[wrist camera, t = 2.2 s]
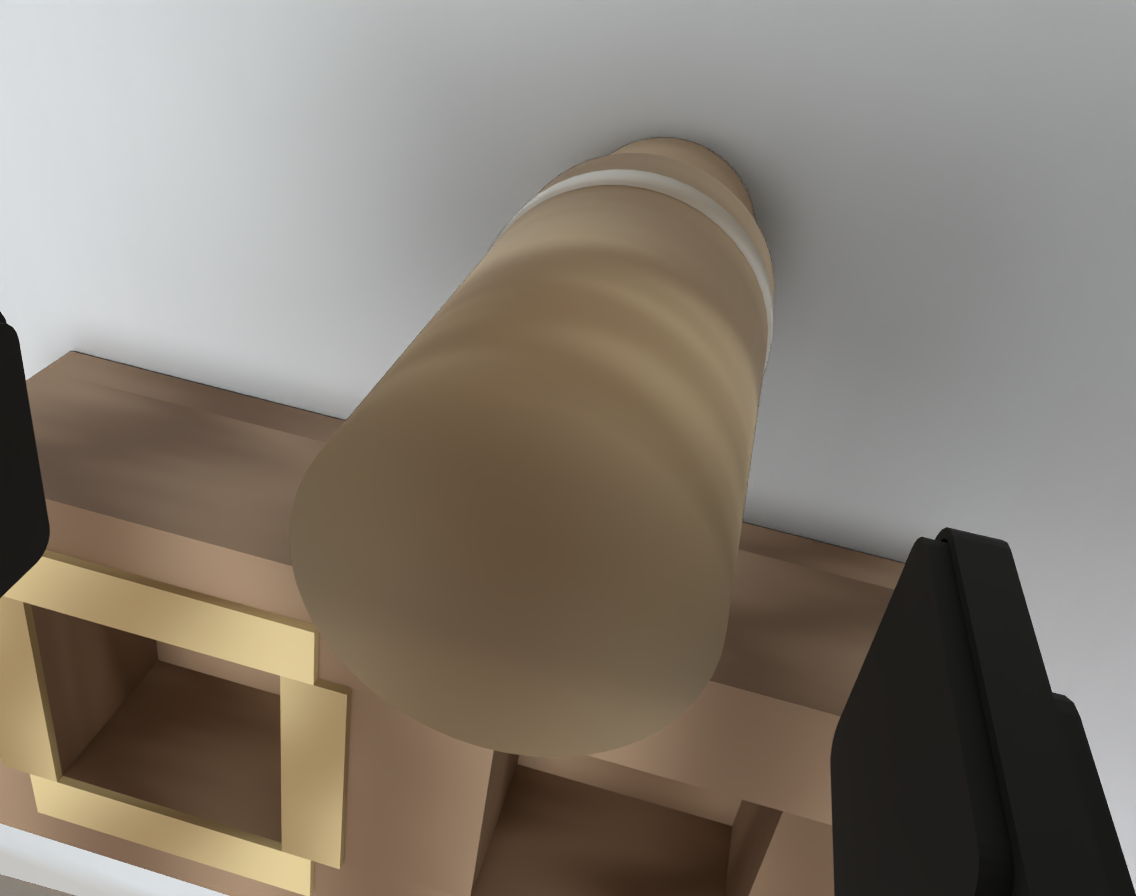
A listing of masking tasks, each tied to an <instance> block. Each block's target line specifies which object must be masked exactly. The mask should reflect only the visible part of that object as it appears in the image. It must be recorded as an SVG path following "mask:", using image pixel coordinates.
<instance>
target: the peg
mask: <svg viewBox="0 0 1136 896" xmlns="http://www.w3.org/2000/svg"><path fill="white" fill-rule="evenodd" d="M773 301H774V275H773V266H772V262H771V257H770V253H769V250H768V247H767V244H766V242H765V239H764V236H763V234H762V232H761V230H760V229H759V227H758V225H757V223H756V221H755V215H754V210H753V206H752V202H751V199H750V197H749V194H748V191H747V189H746V188H745V186H744V184H743V182H742V180H741V179H740V178H739V176H738V175H737V173H736V172H735V171H734V170H733V169H732V168H731V167H730V165H729V164H728V163H727V162H726V161H724V160H723V159H722V158H721V157H719V156H718V155H717V154H715V153H714V152H712V151H710V150H709V149H707V148H705V147H703V146H701V145H698V144H696V143H693V142H690V141H686V140H683V139H677V138H666V137H657V138H649V139H643V140H640V141H636V142H633V143H630V144H628V145H625V146H623V147H621V148H620V149H618V150H616V151H614V152H613V153H611V154H610V155H606V156H602V157H599V158H595V159H591V160H588V161H586V162H583V163H581V164H579V165H576V166H574V167H572V168H570V169H569V170H567V171H565V172H564V173H562V174H560V175H559V176H557V177H556V178H555V179H554V180H552V181H551V182H550V183H549V184H547V185H546V186H545V187H544V188H543V189H542V190H541V191H540V192H539V193H538V194H537V195H536V196H535V197H534V198H533V199H532V200H531V201H529V202H528V203H527V204H526V205H524V206H523V208H522V209H521V210H520V211H519V212H518V213H517V214H516V215H515V216H514V217H513V218H512V219H511V220H510V222H509V223H508V224H507V225H506V226H505V228H504V229H503V230H502V231H501V232H500V234H499V235H498V237H497V238H496V240H495V241H494V242H493V244H492V245H491V247H490V249H489V251H488V253H487V254H486V255H485V257H484V258H483V259H482V260H481V261H480V262H479V264H478V265H477V266H476V267H475V268H474V270H473V271H472V272H471V273H470V274H469V275H468V277H467V278H466V279H465V280H464V281H463V283H462V284H461V285H460V286H459V287H458V289H457V290H456V291H455V292H454V293H453V294H452V296H451V297H450V298H449V299H448V300H447V302H446V303H445V304H444V305H443V306H442V307H441V309H440V310H439V311H438V312H437V313H436V315H435V316H434V317H433V318H432V319H431V320H430V322H429V323H428V324H427V325H426V326H425V328H424V329H423V330H422V331H421V332H420V334H419V335H418V336H417V337H416V338H415V339H414V341H413V342H412V343H411V344H410V345H409V347H408V348H407V349H406V350H405V351H404V352H403V354H402V355H401V356H400V357H399V358H398V360H397V361H396V362H395V363H394V364H393V365H392V367H391V368H390V369H389V370H388V371H387V373H386V374H385V375H384V376H383V377H382V378H381V380H380V381H379V382H378V383H377V384H376V386H375V387H374V388H373V389H372V390H371V392H370V393H369V394H368V395H367V396H366V397H365V399H364V400H363V401H362V402H361V403H360V405H359V406H358V407H357V408H356V409H355V410H354V412H353V413H352V414H351V415H350V416H349V418H348V419H347V420H346V421H345V422H344V423H343V425H342V426H341V427H340V428H339V429H338V431H337V432H336V433H335V434H334V435H333V436H332V438H331V439H330V440H329V441H328V442H327V444H326V445H325V446H324V447H323V448H322V450H321V451H320V452H319V453H318V454H317V456H316V457H315V459H314V460H313V462H312V463H311V465H310V466H309V468H308V469H307V471H306V472H305V474H304V477H303V479H302V481H301V483H300V486H299V488H298V490H297V493H296V496H295V500H294V504H293V508H292V512H291V518H290V531H289V544H290V556H291V563H292V568H293V572H294V576H295V581H296V584H297V587H298V590H299V592H300V595H301V598H302V600H303V603H304V605H305V607H306V609H307V611H308V613H309V615H310V617H311V619H312V621H313V623H314V625H315V627H316V628H317V630H318V631H319V632H320V634H321V635H322V637H323V638H324V640H325V641H326V643H327V644H328V646H329V647H330V648H331V650H332V651H333V652H334V653H335V654H336V656H337V657H338V658H339V659H340V660H341V662H342V663H343V664H344V665H345V666H346V667H347V668H348V669H349V670H350V671H351V672H352V673H353V674H354V675H355V676H356V677H357V678H358V679H359V680H360V681H361V682H362V683H363V684H364V685H366V686H367V687H368V688H369V689H371V690H372V691H373V692H374V693H375V694H377V695H378V696H379V697H380V698H382V699H383V700H384V701H386V702H387V703H389V704H390V705H392V706H393V707H395V708H396V709H398V710H399V711H401V712H402V713H404V714H405V715H407V716H409V717H411V718H412V719H414V720H416V721H418V722H420V723H422V724H423V725H425V726H427V727H429V728H431V729H434V730H436V731H438V732H440V733H443V734H445V735H447V736H450V737H452V738H455V739H458V740H460V741H463V742H466V743H469V744H472V745H475V746H479V747H483V748H487V749H491V750H495V751H499V752H504V753H511V754H517V755H524V756H536V757H572V756H583V755H589V754H596V753H602V752H606V751H610V750H613V749H617V748H621V747H624V746H627V745H630V744H632V743H635V742H637V741H639V740H642V739H644V738H646V737H649V736H650V735H652V734H654V733H655V732H657V731H659V730H661V729H662V728H664V727H666V726H667V725H669V724H670V723H671V722H673V721H674V720H675V719H676V718H678V717H679V716H680V715H681V714H682V713H684V712H685V711H686V710H687V709H688V708H689V707H690V706H691V705H692V703H693V702H694V701H695V700H696V699H697V698H698V697H699V696H700V695H701V693H702V692H703V690H704V688H705V687H706V685H707V684H708V682H709V681H710V679H711V677H712V676H713V674H714V671H715V669H716V667H717V664H718V662H719V659H720V657H721V654H722V650H723V646H724V641H725V637H726V632H727V625H728V618H729V611H730V604H731V597H732V590H733V583H734V576H735V569H736V562H737V555H738V548H739V541H740V534H741V527H742V520H743V513H744V506H745V499H746V492H747V485H748V478H749V471H750V464H751V457H752V450H753V443H754V436H755V429H756V422H757V415H758V408H759V400H760V393H761V386H762V379H763V375H764V372H765V370H766V367H767V362H768V358H769V353H770V348H771V341H772V333H773V319H774V309H773Z"/></svg>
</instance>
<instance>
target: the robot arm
mask: <svg viewBox="0 0 1136 896" xmlns="http://www.w3.org/2000/svg"><path fill="white" fill-rule="evenodd" d="M49 536H50V525H49V519H48V513H47V507H46V501H45V495H44V489H43V483H42V477H41V471H40V465H39V459H38V453H37V447H36V440H35V434H34V428H33V422H32V416H31V410H30V404H29V398H28V392H27V386H26V380H25V374H24V368H23V362H22V356H21V349H20V343H19V339H18V336H17V333H16V331H15V330H14V328H13V327H11V326H10V325H8V324H7V323H6V320H5V318H4V316H3V315H2V314H1V312H0V598H1V597H2V596H3V595H4V594H5V593H6V592H7V591H8V590H9V589H10V588H11V587H12V586H13V585H15V584H16V583H17V582H18V581H19V580H20V579H21V578H22V577H23V576H24V575H25V574H26V573H27V572H28V571H29V570H30V569H31V568H32V567H33V566H34V565H35V564H36V563H37V562H38V561H39V560H40V558H41V557H42V556H43V554H44V552H45V550H46V548H47V545H48V542H49ZM830 771H831V803H832V835H833V867H834V896H1136V894H1135V890H1134V887H1133V884H1132V881H1131V878H1130V874H1129V871H1128V868H1127V865H1126V862H1125V858H1124V855H1123V852H1122V849H1121V846H1120V843H1119V839H1118V836H1117V833H1116V830H1115V827H1114V823H1113V820H1112V817H1111V814H1110V811H1109V807H1108V804H1107V801H1106V798H1105V795H1104V791H1103V788H1102V785H1101V782H1100V779H1099V776H1098V772H1097V769H1096V766H1095V763H1094V760H1093V756H1092V753H1091V750H1090V747H1089V744H1088V740H1087V737H1086V734H1085V731H1084V728H1083V724H1082V721H1081V718H1080V715H1079V713H1078V711H1077V709H1076V707H1075V705H1074V703H1073V702H1072V701H1071V700H1070V699H1068V698H1067V697H1066V696H1065V695H1061V694H1057V693H1052V691H1051V687H1050V684H1049V680H1048V677H1047V673H1046V670H1045V666H1044V663H1043V660H1042V656H1041V653H1040V649H1039V646H1038V642H1037V639H1036V635H1035V632H1034V628H1033V625H1032V622H1031V618H1030V615H1029V611H1028V608H1027V604H1026V601H1025V597H1024V594H1023V591H1022V587H1021V584H1020V580H1019V577H1018V573H1017V570H1016V566H1015V563H1014V559H1013V556H1012V553H1011V549H1010V547H1009V545H1008V543H1007V542H1005V541H1003V540H999V539H995V538H991V537H986V536H982V535H978V534H973V533H969V532H965V531H960V530H956V529H952V528H947V527H946V528H944V529H942V530H941V532H940V533H939V534H938V535H937V537H936V539H935V540H933V539H929V538H924V537H920V538H918V539H917V541H916V542H915V543H914V545H913V547H912V549H911V552H910V554H909V556H908V559H907V561H906V564H905V566H904V568H903V571H902V573H901V575H900V578H899V580H898V582H897V585H896V587H895V589H894V592H893V594H892V597H891V599H890V601H889V604H888V606H887V608H886V611H885V613H884V615H883V618H882V620H881V623H880V625H879V627H878V630H877V632H876V634H875V637H874V639H873V641H872V644H871V646H870V649H869V651H868V653H867V656H866V658H865V660H864V663H863V665H862V667H861V670H860V672H859V674H858V677H857V679H856V682H855V684H854V686H853V689H852V691H851V693H850V696H849V698H848V700H847V703H846V705H845V708H844V710H843V712H842V715H841V717H840V719H839V722H838V724H837V727H836V730H835V733H834V737H833V742H832V748H831V756H830ZM0 896H75V895H71V894H68V893H65V892H61V891H58V890H54V889H50V888H47V887H43V886H40V885H36V884H33V883H29V882H25V881H22V880H18V879H15V878H11V877H8V876H4V875H1V874H0Z"/></svg>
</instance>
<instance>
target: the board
mask: <svg viewBox="0 0 1136 896" xmlns="http://www.w3.org/2000/svg"><path fill="white" fill-rule="evenodd" d="M26 386H27V392H28V398H29V404H30V410H31V416H32V422H33V428H34V434H35V440H36V447H37V453H38V459H39V465H40V471H41V477H42V483H43V489H44V495H45V501H46V507H47V513H48V519H49V525H50V536H49V542H48V545H47V548H46V550H45V552H44V554H43V556H42V557H41V558H40V560H39V561H38V562H37V563H36V564H35V565H34V566H33V567H32V568H31V569H30V570H29V571H28V572H27V573H26V574H25V575H24V576H23V577H22V578H21V579H20V580H19V581H18V582H17V583H16V584H15V585H13V586H12V587H11V588H10V589H9V590H8V591H7V592H6V593H5V594H4V595H3V596H2V597H1V598H0V823H1V824H4V825H7V826H11V827H14V828H17V829H20V830H23V831H26V832H30V833H33V834H36V835H39V836H42V837H45V838H49V839H52V840H55V841H58V842H61V843H64V844H68V845H71V846H74V847H77V848H80V849H84V850H87V851H90V852H93V853H96V854H99V855H103V856H106V857H109V858H112V859H115V860H118V861H122V862H125V863H128V864H131V865H134V866H137V867H141V868H144V869H147V870H150V871H153V872H157V873H160V874H163V875H166V876H169V877H172V878H176V879H179V880H182V881H185V882H188V883H191V884H195V885H198V886H201V887H204V888H207V889H210V890H214V891H217V892H220V893H223V894H226V895H230V896H834V867H833V835H832V803H831V771H830V756H831V748H832V742H833V737H834V733H835V730H836V727H837V724H838V722H839V719H840V717H841V715H842V712H843V710H844V708H845V705H846V703H847V700H848V698H849V696H850V693H851V691H852V689H853V686H854V684H855V682H856V679H857V677H858V674H859V672H860V670H861V667H862V665H863V663H864V660H865V658H866V656H867V653H868V651H869V649H870V646H871V644H872V641H873V639H874V637H875V634H876V632H877V630H878V627H879V625H880V623H881V620H882V618H883V615H884V613H885V611H886V608H887V606H888V604H889V601H890V599H891V597H892V594H893V592H894V589H895V587H896V585H897V582H898V580H899V578H900V575H901V573H902V571H903V568H904V566H905V564H904V563H900V562H896V561H892V560H888V559H885V558H881V557H877V556H873V555H869V554H865V553H861V552H857V551H853V550H849V549H845V548H841V547H838V546H834V545H830V544H826V543H822V542H818V541H814V540H810V539H806V538H802V537H798V536H794V535H790V534H787V533H783V532H779V531H775V530H771V529H767V528H763V527H759V526H755V525H751V524H747V523H743V522H742V527H741V534H740V541H739V548H738V555H737V562H736V569H735V576H734V583H733V590H732V597H731V604H730V611H729V618H728V625H727V632H726V637H725V641H724V646H723V650H722V654H721V657H720V659H719V662H718V664H717V667H716V669H715V671H714V674H713V676H712V677H711V679H710V681H709V682H708V684H707V685H706V687H705V688H704V690H703V692H702V693H701V695H700V696H699V697H698V698H697V699H696V700H695V701H694V702H693V703H692V705H691V706H690V707H689V708H688V709H687V710H686V711H685V712H684V713H682V714H681V715H680V716H679V717H678V718H676V719H675V720H674V721H673V722H671V723H670V724H669V725H667V726H666V727H664V728H662V729H661V730H659V731H657V732H655V733H654V734H652V735H650V736H649V737H646V738H644V739H642V740H639V741H637V742H635V743H632V744H630V745H627V746H624V747H621V748H617V749H613V750H610V751H606V752H602V753H596V754H589V755H583V756H572V757H536V756H524V755H517V754H511V753H504V752H499V751H495V750H491V749H487V748H483V747H479V746H475V745H472V744H469V743H466V742H463V741H460V740H458V739H455V738H452V737H450V736H447V735H445V734H443V733H440V732H438V731H436V730H434V729H431V728H429V727H427V726H425V725H423V724H422V723H420V722H418V721H416V720H414V719H412V718H411V717H409V716H407V715H405V714H404V713H402V712H401V711H399V710H398V709H396V708H395V707H393V706H392V705H390V704H389V703H387V702H386V701H384V700H383V699H382V698H380V697H379V696H378V695H377V694H375V693H374V692H373V691H372V690H371V689H369V688H368V687H367V686H366V685H364V684H363V683H362V682H361V681H360V680H359V679H358V678H357V677H356V676H355V675H354V674H353V673H352V672H351V671H350V670H349V669H348V668H347V667H346V666H345V665H344V664H343V663H342V662H341V660H340V659H339V658H338V657H337V656H336V654H335V653H334V652H333V651H332V650H331V648H330V647H329V646H328V644H327V643H326V641H325V640H324V638H323V637H322V635H321V634H320V632H319V631H318V630H317V628H316V627H315V625H314V623H313V621H312V619H311V617H310V615H309V613H308V611H307V609H306V607H305V605H304V603H303V600H302V598H301V595H300V592H299V590H298V587H297V584H296V581H295V576H294V572H293V568H292V563H291V556H290V544H289V531H290V518H291V512H292V508H293V504H294V500H295V496H296V493H297V490H298V488H299V486H300V483H301V481H302V479H303V477H304V474H305V472H306V471H307V469H308V468H309V466H310V465H311V463H312V462H313V460H314V459H315V457H316V456H317V454H318V453H319V452H320V451H321V450H322V448H323V447H324V446H325V445H326V444H327V442H328V441H329V440H330V439H331V438H332V436H333V435H334V434H335V433H336V432H337V431H338V429H339V428H340V427H341V426H342V425H343V423H344V422H345V421H344V420H340V419H336V418H332V417H328V416H324V415H320V414H316V413H312V412H308V411H304V410H300V409H296V408H293V407H289V406H285V405H281V404H277V403H273V402H269V401H265V400H261V399H257V398H253V397H249V396H245V395H242V394H238V393H234V392H230V391H226V390H222V389H218V388H214V387H210V386H206V385H202V384H198V383H195V382H191V381H187V380H183V379H179V378H175V377H171V376H167V375H163V374H159V373H155V372H151V371H147V370H144V369H140V368H136V367H132V366H128V365H124V364H120V363H116V362H112V361H108V360H104V359H100V358H97V357H93V356H89V355H85V354H81V353H77V352H73V351H70V352H68V353H67V354H65V355H64V356H62V357H61V358H59V359H58V360H56V361H55V362H53V363H52V364H50V365H49V366H47V367H46V368H44V369H43V370H41V371H40V372H38V373H37V374H35V375H34V376H32V377H31V378H29V379H28V380H26Z"/></svg>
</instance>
